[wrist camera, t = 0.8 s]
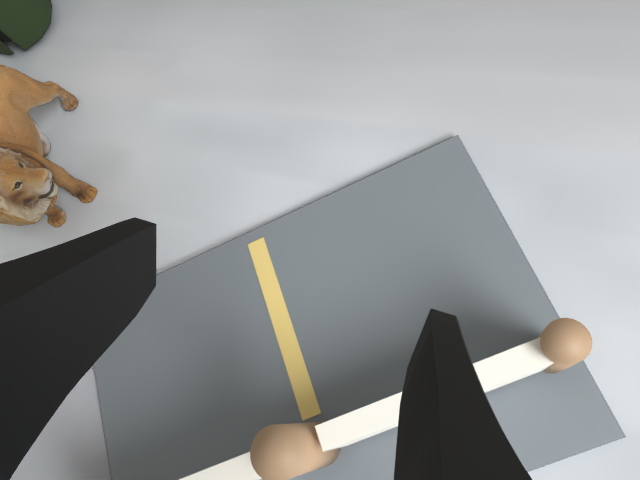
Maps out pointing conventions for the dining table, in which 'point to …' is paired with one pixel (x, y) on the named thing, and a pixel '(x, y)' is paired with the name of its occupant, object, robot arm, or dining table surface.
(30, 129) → the lion figurine
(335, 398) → the card
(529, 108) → the dining table surface
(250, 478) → the fixed fence panel
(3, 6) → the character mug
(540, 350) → the hinged fence panel
